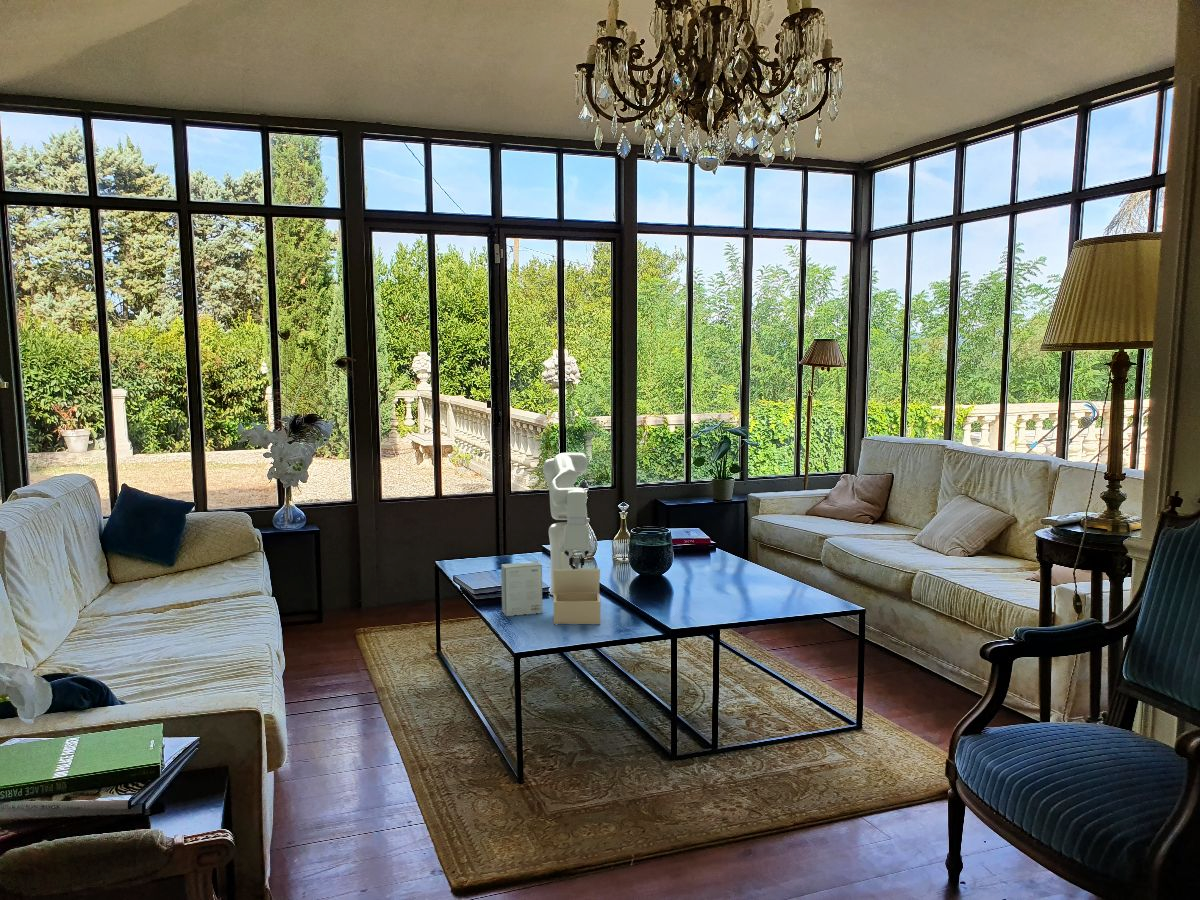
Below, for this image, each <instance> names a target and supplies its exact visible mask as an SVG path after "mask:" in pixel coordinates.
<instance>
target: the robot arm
mask: <svg viewBox="0 0 1200 900" xmlns="http://www.w3.org/2000/svg"><path fill="white" fill-rule="evenodd" d="M588 465H589V463H588V458H587V456H586V454H585V453H583V452H561V453H558V454H556V455H555V457H553V458H548V459H545V461H544V462H543V466H542V467H543V475H544V476H543V477H544V479H545V482H546V484H547V486H548V490H549V507H550V514H551V515H550V516H551V517H552V519H554V520H556V521H558V520H559V521H560V522H556V523H552V524H550V526H549V527H548V537H549V538H548V539H549V547H550V589H551V591H550V594H552V595H554V569H574V566H573V565H574V564H573V559H574V557H573V551H580V554H581V555H580V560H581V563H580V569H584V568H583V566H585V557H587V555H588V554H590V553H592V552H593V551H594V547H593V545H592V544H591V542H590V530H589V528H590V527H589V522H590V521H591V520H590V518H589V517H588V509H587V500H588V493H587V491H586V489H585V488H583V487H572V486H574V485H575V484H576V482H577V480H578V478H579V477H582V476H583V475H584V474H585V473H586V472H587V471H588V468H589V467H588ZM561 521H562V522H561ZM563 521H566V522H563Z"/></svg>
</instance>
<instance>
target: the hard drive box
mask: <svg viewBox="0 0 1200 900" xmlns="http://www.w3.org/2000/svg"><path fill="white" fill-rule="evenodd" d="M500 567H501V568H500V569H501V570H500V573H501V575H500V577H501V609H502V610H501V612H502V613H504V614H503V615H504V616H505V617H515V616H514V615H517V616H524V614H526V615H537V614H536V613H538V614H543V613H542V612H544V611H543V565H542V564H541V563H540V562H539V561H526V562H525V561H524V562H515V563H504V564H503V563H502V564H501V565H500Z"/></svg>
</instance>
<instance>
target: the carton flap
mask: <svg viewBox="0 0 1200 900" xmlns="http://www.w3.org/2000/svg"><path fill="white" fill-rule="evenodd" d="M573 565H574V567H575V568H572V569H554V593H599V594H600V583H601V582H600V580H601V579H600V578H601V577H600V576H601V568H579V565H581V557H578V556H577V557H573Z"/></svg>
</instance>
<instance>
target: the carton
mask: <svg viewBox="0 0 1200 900" xmlns="http://www.w3.org/2000/svg"><path fill="white" fill-rule="evenodd" d="M601 607H602V606H601V596H600V592H599V593H554V596H553V625H554V624H602V623H601V620H602V619H601V611H602V609H601Z"/></svg>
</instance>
